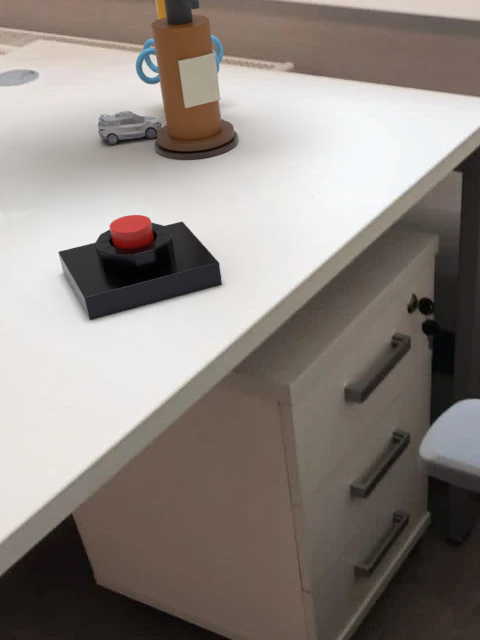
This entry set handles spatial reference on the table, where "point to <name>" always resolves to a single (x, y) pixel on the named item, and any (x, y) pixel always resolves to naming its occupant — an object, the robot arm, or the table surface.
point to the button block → (139, 270)
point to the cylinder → (148, 51)
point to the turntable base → (197, 154)
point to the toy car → (127, 126)
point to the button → (131, 232)
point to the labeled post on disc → (188, 80)
